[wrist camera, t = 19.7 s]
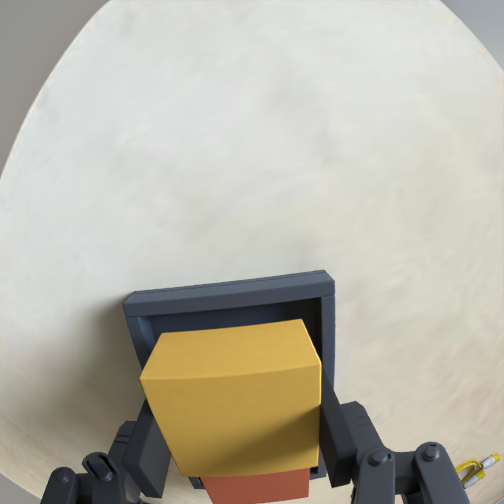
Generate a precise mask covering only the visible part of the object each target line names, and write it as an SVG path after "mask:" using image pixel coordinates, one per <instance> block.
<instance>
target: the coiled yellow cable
mask: <svg viewBox="0 0 504 504" xmlns="http://www.w3.org/2000/svg"><path fill="white" fill-rule="evenodd" d="M499 459H500V456H499V454H497V453H496V454H495V455H494V456H491V457H489V458H487V459H486V460H485V461H484V462H483V463H481V464H479V462H478V461H477V460H474V459H471V460H468V461H466V462H464V463H462V464H460V465H458V466H457V467H455V470H456V473H458V472H460V471H461V470H463V469H465V468H467V467H468V466H471V465H473V469H472V470H471V471H470V473H469V474H468V475H467V476H466V477H465V478H464V479H463V480H462V481H461V483H462V484H463V483H464V482H465V481H466V480H467V479H468V478H469V477H470V476H471V475H472V474H473V473H474V472H475V470H476V465H475V463H477V465H478V466H479V468H480V470H479V471H478V472H476V473H475V474H474V475H472V476H471V477H470V478H469V479H468V480H467V481H466V482H465V483H464V484H463V488H464V489H466V488H467V487H469V486H471V485H473V484H475V483H476V482H477V481H479V480H480V479H482V478H483V477H484V476H485V472H484V469H487V468H488V467H490V466H492V465H494V464H495V463H496V462H497V461H499ZM470 461H473V462H470ZM468 462H469V463H468ZM474 462H475V463H474ZM464 464H465V465H464ZM462 465H463V466H462ZM460 466H461V467H460ZM457 468H458V469H457ZM472 471H473V472H472Z"/></svg>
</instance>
